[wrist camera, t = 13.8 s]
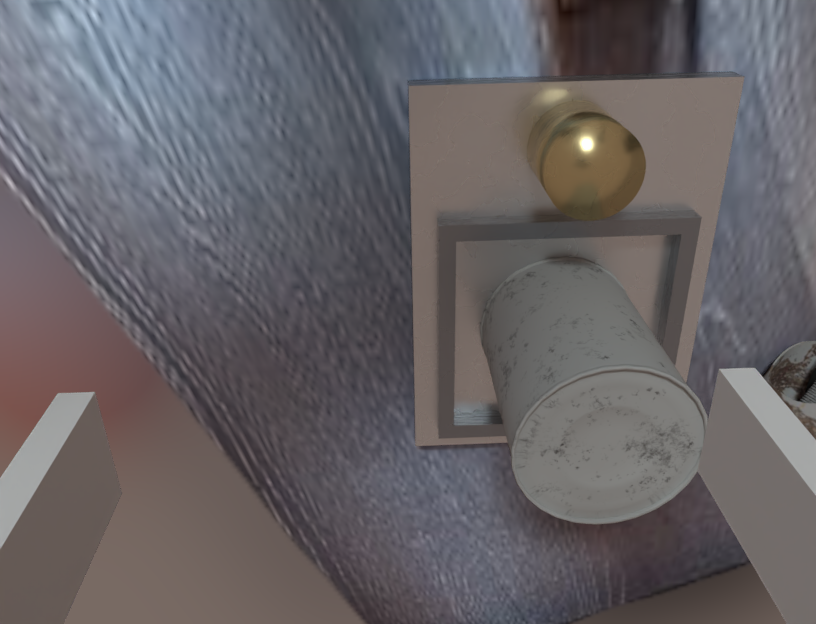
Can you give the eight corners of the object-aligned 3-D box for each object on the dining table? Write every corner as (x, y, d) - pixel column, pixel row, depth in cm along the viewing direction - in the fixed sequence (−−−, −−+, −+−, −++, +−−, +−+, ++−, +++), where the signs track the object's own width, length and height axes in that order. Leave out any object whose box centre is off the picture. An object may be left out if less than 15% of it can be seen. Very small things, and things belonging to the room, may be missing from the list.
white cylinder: (553, 413, 49) (603, 552, 38) (448, 335, 46) (470, 462, 35) (662, 317, 46) (750, 438, 35) (557, 225, 43) (618, 328, 32)
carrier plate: (407, 80, 40) (412, 106, 34) (732, 71, 41) (790, 96, 35) (414, 432, 51) (419, 496, 46) (668, 422, 52) (704, 485, 46)
